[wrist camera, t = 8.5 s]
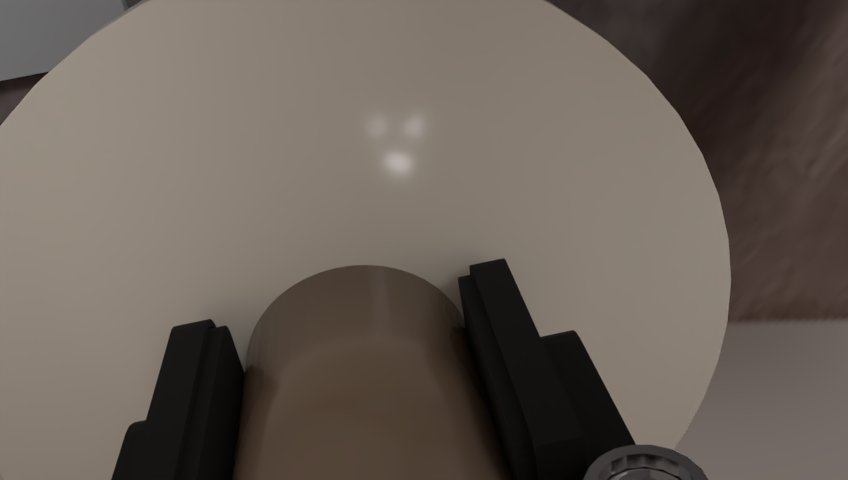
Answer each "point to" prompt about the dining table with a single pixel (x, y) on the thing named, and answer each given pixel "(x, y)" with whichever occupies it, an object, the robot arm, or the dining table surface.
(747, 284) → the dining table surface
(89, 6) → the mat
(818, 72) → the dining table surface
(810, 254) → the dining table surface
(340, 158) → the lid
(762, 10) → the dining table surface
